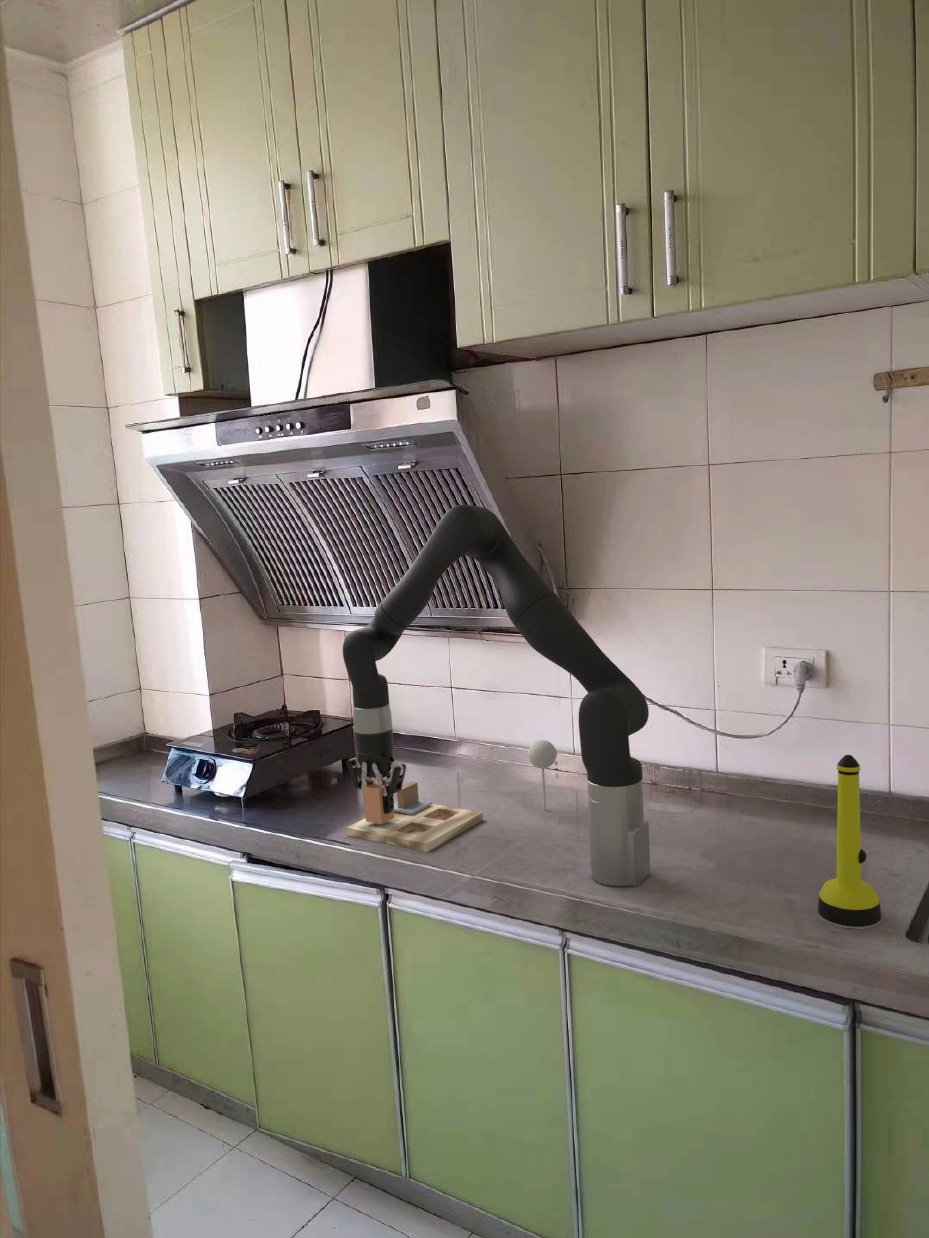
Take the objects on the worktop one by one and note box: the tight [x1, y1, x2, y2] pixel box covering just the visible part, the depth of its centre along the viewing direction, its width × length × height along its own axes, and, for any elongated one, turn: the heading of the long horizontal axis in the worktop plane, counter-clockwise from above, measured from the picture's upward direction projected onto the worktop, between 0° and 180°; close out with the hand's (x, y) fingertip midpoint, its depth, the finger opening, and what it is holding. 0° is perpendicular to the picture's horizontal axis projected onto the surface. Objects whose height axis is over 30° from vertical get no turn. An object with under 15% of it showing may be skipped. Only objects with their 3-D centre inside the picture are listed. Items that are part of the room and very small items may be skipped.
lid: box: [394, 781, 433, 815], centre depth 196 cm, size 7×7×5 cm
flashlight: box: [817, 754, 882, 930], centre depth 140 cm, size 25×9×9 cm
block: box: [363, 781, 394, 824], centre depth 187 cm, size 4×4×7 cm
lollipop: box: [527, 739, 558, 811], centre depth 195 cm, size 6×6×15 cm
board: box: [345, 803, 484, 853], centre depth 189 cm, size 20×19×2 cm
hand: (379, 810), depth 188 cm, fingers closed on block, 4 cm apart
